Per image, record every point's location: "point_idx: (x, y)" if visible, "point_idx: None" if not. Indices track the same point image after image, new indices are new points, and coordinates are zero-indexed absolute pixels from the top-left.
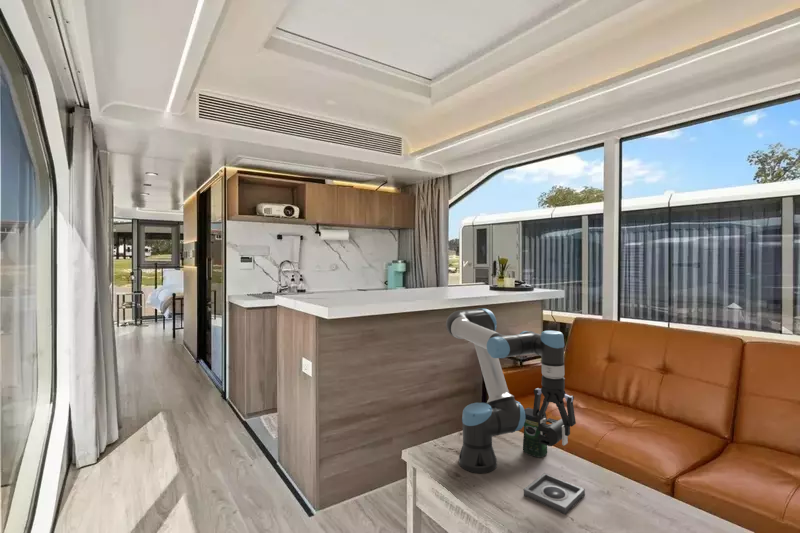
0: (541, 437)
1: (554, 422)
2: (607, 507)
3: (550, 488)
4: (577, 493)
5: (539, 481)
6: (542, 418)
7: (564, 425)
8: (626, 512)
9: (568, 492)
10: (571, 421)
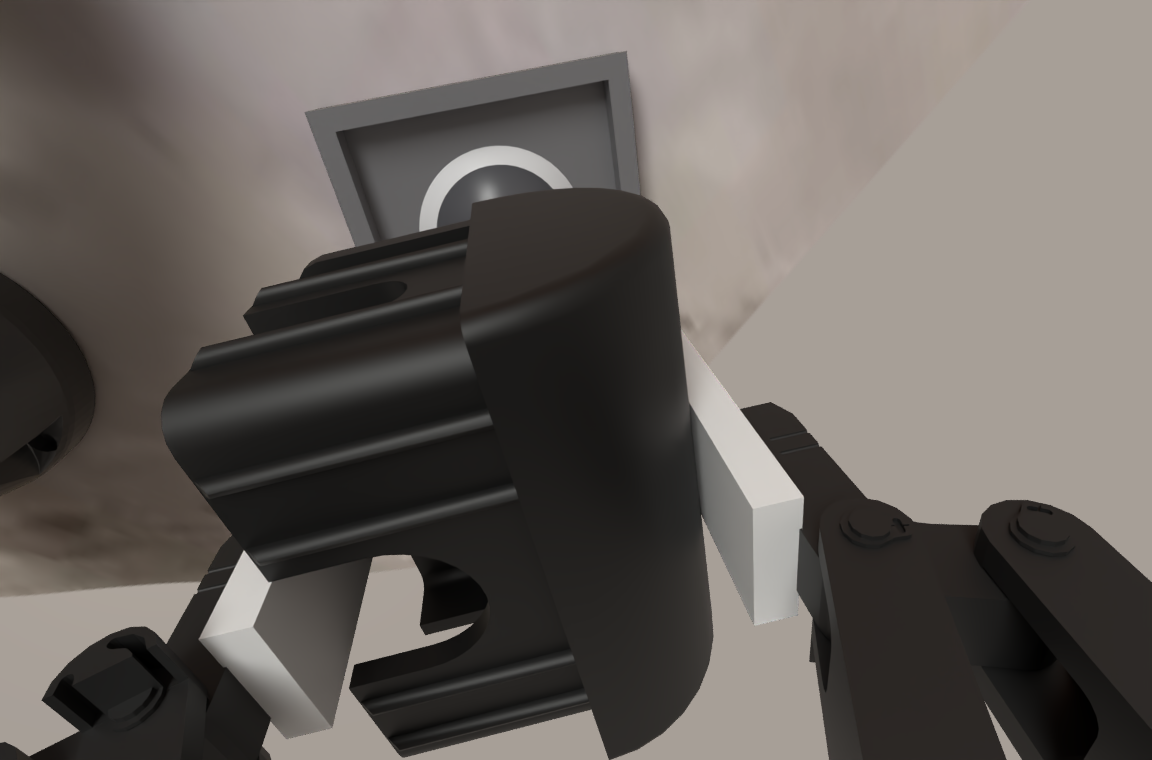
0: (469, 597)
1: (470, 527)
2: (773, 61)
3: (459, 216)
4: (624, 155)
5: (373, 229)
6: (241, 695)
7: (819, 634)
8: (874, 7)
9: (551, 149)
10: (1086, 733)
